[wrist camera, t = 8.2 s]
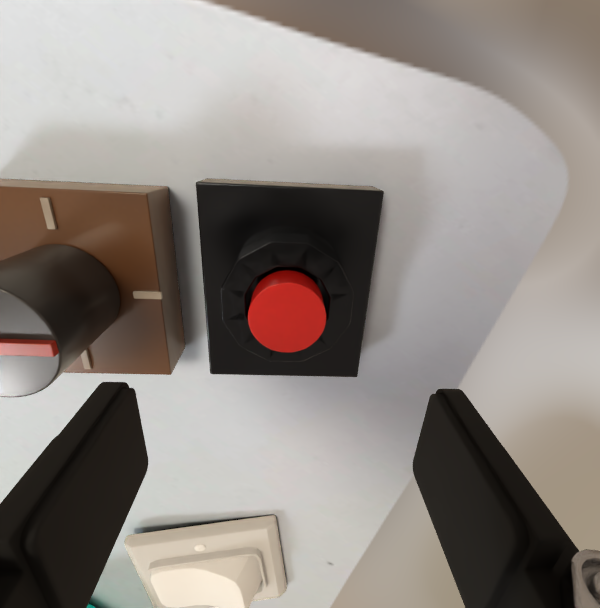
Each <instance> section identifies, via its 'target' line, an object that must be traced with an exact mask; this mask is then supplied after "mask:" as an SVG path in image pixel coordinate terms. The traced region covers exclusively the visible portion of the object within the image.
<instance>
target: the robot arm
mask: <svg viewBox="0 0 600 608" xmlns="http://www.w3.org/2000/svg"><path fill="white" fill-rule="evenodd" d="M147 467H148V456H147V451H146V446H145V440H144V435H143V430H142V425H141V419H140V414H139V409H138V404H137V398H136V393H135V390H134V389H133V388H129V386H128V384H127V383H125V382H103V383H101V384H100V385H99V386H98V387H97V388H96V390H95V391H94V392H93V393H92V394H91V396H90V397H89V398H88V399H87V401H86V402H85V403H84V404H83V406H82V407H81V408H80V409H79V411H78V412H77V413H76V414H75V415H74V417H73V418H72V419H71V420H70V422H69V423H68V424H67V425H66V427H65V428H64V429H63V430H62V432H61V433H60V434H59V435H58V436H56V437H55V438H54V439H53V440H52V441H51V442H50V444H49V445H48V446H47V447H46V449H45V450H44V451H43V452H42V454H41V455H40V456H39V457H38V458H37V460H36V461H35V462H34V463H33V465H32V466H31V467H30V468H29V469H28V471H27V472H26V473H25V474H24V476H23V477H22V478H21V479H20V480H19V482H18V483H17V484H16V485H15V487H14V488H13V489H12V490H11V491H10V493H9V494H8V495H7V496H6V498H5V499H4V500H3V501H2V503H1V504H0V608H87V605H88V603H89V601H90V599H91V596H92V594H93V592H94V590H95V587H96V585H97V583H98V581H99V578H100V576H101V574H102V572H103V569H104V567H105V565H106V563H107V560H108V558H109V556H110V553H111V551H112V549H113V547H114V544H115V542H116V540H117V538H118V535H119V533H120V531H121V529H122V526H123V524H124V522H125V520H126V517H127V515H128V513H129V511H130V508H131V506H132V504H133V501H134V499H135V497H136V495H137V492H138V490H139V488H140V486H141V483H142V481H143V479H144V477H145V474H146V472H147ZM413 472H414V476H415V479H416V481H417V484H418V486H419V488H420V491H421V494H422V497H423V499H424V502H425V504H426V507H427V510H428V512H429V515H430V517H431V520H432V523H433V525H434V528H435V530H436V533H437V535H438V538H439V540H440V543H441V546H442V548H443V551H444V554H445V556H446V559H447V561H448V564H449V566H450V569H451V572H452V574H453V577H454V579H455V582H456V584H457V587H458V590H459V592H460V595H461V597H462V600H463V603H464V605H465V608H600V551H597V550H587V549H586V550H583V551H579V550H578V549H577V548H576V546H575V545H574V544H573V542H572V541H571V539H570V538H569V537H568V535H567V534H566V532H565V531H564V530H563V528H562V527H561V526H560V524H559V523H558V521H557V520H556V519H555V517H554V516H553V515H552V513H551V512H550V510H549V509H548V508H547V506H546V505H545V504H544V502H543V501H542V499H541V498H540V497H539V495H538V494H537V492H536V491H535V490H534V488H533V487H532V486H531V484H530V483H529V481H528V480H527V479H526V477H525V476H524V475H523V473H522V472H521V471H520V469H519V468H518V466H517V465H516V464H515V462H514V461H513V459H512V458H511V457H510V455H509V454H508V453H507V451H506V450H505V448H504V447H503V446H502V445H501V443H500V442H499V441H498V439H497V438H496V436H495V435H494V434H493V432H492V431H491V430H490V428H489V427H488V425H487V424H486V423H485V421H484V420H483V419H482V417H481V416H480V414H479V413H478V412H477V410H476V409H475V408H474V406H473V405H472V403H471V402H470V401H469V399H468V398H467V396H466V395H465V394H464V393H463V391H462V390H460V389H438V390H437V391H436V394H432V395H431V396H430V399H429V402H428V406H427V410H426V414H425V418H424V422H423V425H422V429H421V433H420V437H419V441H418V444H417V448H416V452H415V456H414V460H413Z"/></svg>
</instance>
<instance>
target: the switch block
mask: <svg viewBox="0 0 600 608" xmlns="http://www.w3.org/2000/svg"><path fill="white" fill-rule="evenodd" d="M196 190H197V203H198V216H199V230H200V243H201V256H202V270H203V283H204V296H205V309H206V323H207V336H208V349H209V363H210V373H211V374H239V375H287V376H335V377H357V374H358V367H359V360H360V353H361V346H362V339H363V333H364V326H365V319H366V312H367V305H368V298H369V291H370V284H371V277H372V270H373V263H374V256H375V249H376V242H377V235H378V229H379V222H380V215H381V208H382V201H383V194H384V192H383V191H382V190H380V189H377V188H375V187H373V186H353V185H332V184H311V183H291V182H270V181H249V180H229V179H208V178H207V179H204V180H201V181H198V182H196ZM283 270H291V271H297V272H300V273H303V274H305V275H307V276H308V277H310V278H311V279H312V280H313V281H314V282H315V283H316V284H317V286H318V287H319V289H320V291H321V294H322V297H323V302H324V306H325V310H326V324H325V328H324V330H323V332H322V334H321V336H320V337H319V338H318V339H317V341H315V342H314V343H313V344H312V345H310V346H309V347H307V348H305V349H303V350H300V351H296V352H278V351H274V350H271V349H269V348H267V347H265V346H264V345H262V344H261V343H260V342H259V341H258V340H257V339H256V338H255V337H254V335H253V334H252V332H251V330H250V327H249V324H248V311H249V307H250V303H251V299H252V295H253V292H254V290H255V288H256V286H257V285H258V283H259V282H260V281H261V280H262V279H263V278H265V277H266V276H268V275H269V274H272V273H274V272H277V271H283Z"/></svg>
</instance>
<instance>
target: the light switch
mask: <svg viewBox="0 0 600 608" xmlns="http://www.w3.org/2000/svg"><path fill="white" fill-rule="evenodd" d="M124 545H125V548H126V550H127V552H128V554H129V556H130V558H131V560H132V562H133V564H134V567H135V569H136V571H137V573H138V575H139V577H140V579H141V581H142V583H143V585H144V588H145V590H146V592H147V594H148V596H149V598H150V600H151V602H152V604H153V606H154V608H212V607H218V608H249V606H250V604H251V602H252V601H258V600H265V599H271V598H278V597H280V596H281V595H282V594H283V593H284V592H285V591H286V589H287V583H286V576H285V570H284V564H283V558H282V551H281V545H280V539H279V533H278V526H277V520H276V516H275V515H270V516H263V517H256V518H248V519H241V520H234V521H227V522H219V523H212V524H205V525H198V526H191V527H183V528H176V529H169V530H162V531H154V532H147V533H140V534H133V535H128V536H126V539H125V542H124ZM262 580H263V582H261V581H262Z"/></svg>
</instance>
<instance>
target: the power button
mask: <svg viewBox="0 0 600 608" xmlns="http://www.w3.org/2000/svg"><path fill="white" fill-rule="evenodd" d="M248 324H249V327H250V330H251V332H252V334H253V335H254V337H255V338H256V339H257V340H258V341H259V342H260V343H261V344H262V345H264V346H265V347H267V348H269V349H271V350H274V351H278V352H296V351H300V350H303V349H305V348H307V347H309V346H310V345H312V344H313V343H314V342H315V341H317V339H318V338H319V337H320V336H321V334H322V332H323V330H324V328H325V324H326V310H325V306H324V302H323V297H322V294H321V291H320V289H319V287H318V286H317V284H316V283H315V282H314V281H313V280H312V279H311V278H310V277H308V276H307V275H305V274H303V273H300V272H297V271H291V270H283V271H277V272H274V273H272V274H269V275H268V276H266V277H265V278H263V279H262V280H261V281H260V282H259V283H258V285H257V286H256V288H255V290H254V292H253V295H252V299H251V303H250V307H249V311H248Z"/></svg>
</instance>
